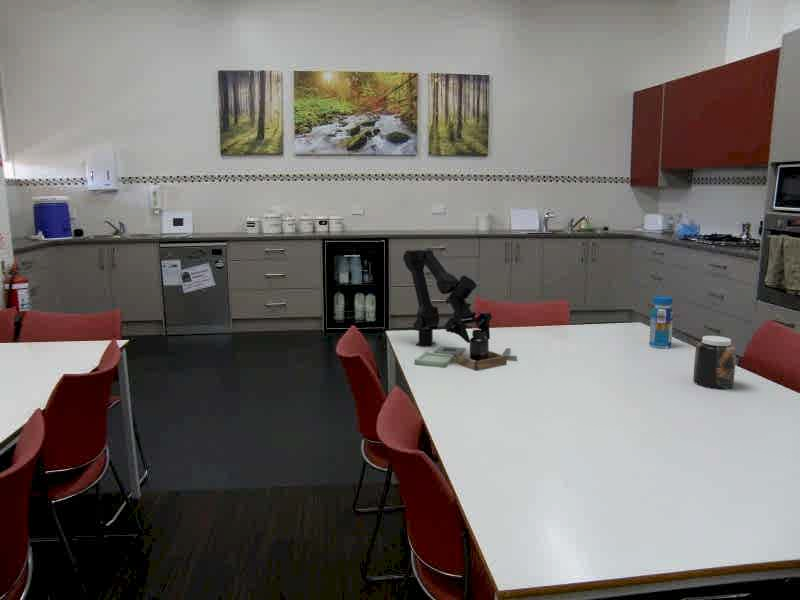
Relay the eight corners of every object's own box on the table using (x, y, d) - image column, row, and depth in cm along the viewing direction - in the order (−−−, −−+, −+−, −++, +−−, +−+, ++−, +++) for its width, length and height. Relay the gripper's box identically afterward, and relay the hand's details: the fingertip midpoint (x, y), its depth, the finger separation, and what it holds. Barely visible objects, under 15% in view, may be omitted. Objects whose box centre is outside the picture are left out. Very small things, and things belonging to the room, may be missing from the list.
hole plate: (440, 348, 254) (440, 346, 254) (465, 351, 251) (465, 348, 251) (433, 355, 245) (433, 352, 245) (458, 357, 242) (458, 354, 242)
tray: (424, 356, 243) (424, 352, 243) (454, 359, 239) (454, 354, 239) (414, 364, 232) (414, 359, 232) (445, 367, 228) (445, 362, 228)
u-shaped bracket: (455, 362, 234) (455, 354, 234) (484, 357, 242) (484, 349, 241) (476, 370, 225) (476, 362, 224) (506, 364, 232) (506, 356, 231)
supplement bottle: (488, 360, 237) (488, 328, 235) (488, 365, 230) (489, 333, 228) (469, 360, 238) (469, 328, 236) (469, 365, 231) (469, 332, 229)
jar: (691, 386, 206) (695, 340, 203) (694, 376, 216) (697, 333, 213) (733, 391, 200) (737, 344, 198) (733, 381, 211) (737, 336, 208)
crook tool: (506, 352, 249) (506, 348, 249) (521, 353, 248) (521, 349, 247) (501, 360, 238) (501, 355, 238) (516, 361, 236) (516, 357, 236)
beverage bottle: (644, 345, 259) (647, 296, 255) (659, 342, 262) (662, 294, 259) (660, 349, 251) (663, 299, 248) (676, 347, 255) (679, 297, 251)
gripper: (469, 316, 251) (488, 349, 243) (430, 321, 241) (448, 356, 233) (483, 298, 243) (502, 332, 236) (443, 303, 233) (462, 339, 226)
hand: (479, 340), depth 233 cm, fingers open, 9 cm apart
